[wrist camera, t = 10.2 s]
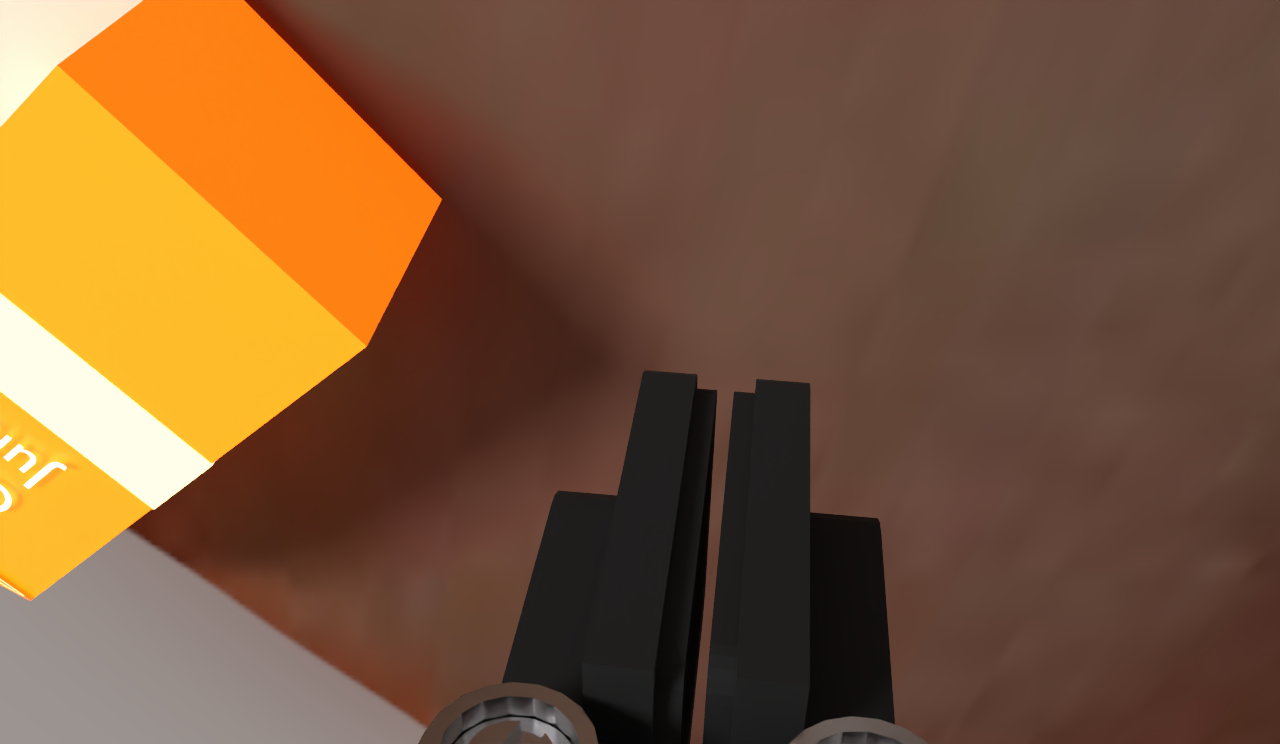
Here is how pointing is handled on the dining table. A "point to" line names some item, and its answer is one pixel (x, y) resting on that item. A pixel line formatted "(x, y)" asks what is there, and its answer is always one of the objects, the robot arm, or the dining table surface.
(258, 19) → the orange juice
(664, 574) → the robot arm
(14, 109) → the mat
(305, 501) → the dining table surface
